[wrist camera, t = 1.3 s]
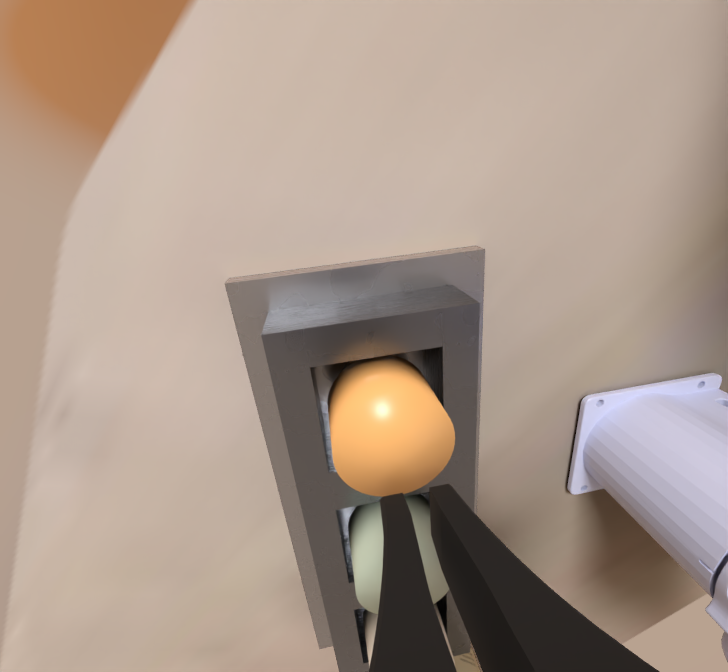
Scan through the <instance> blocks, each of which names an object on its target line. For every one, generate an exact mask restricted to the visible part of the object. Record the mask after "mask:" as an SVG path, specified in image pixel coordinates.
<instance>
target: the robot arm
mask: <svg viewBox="0 0 728 672" xmlns="http://www.w3.org/2000/svg"><path fill="white" fill-rule="evenodd" d="M721 381H722V378H721V376H720V375H718V374H716V373H709V374H703V375H697V376H692V377H686V378H681V379H675V380H670V381H664V382H658V383H653V384H647V385H642V386H636V387H630V388H625V389H619V390H614V391H608V392H603V393H597V394H591V395H588V396H586V397H584V398H583V399H582V402H581V406H580V412H579V419H578V425H577V431H576V437H575V443H574V449H573V455H572V462H571V468H570V474H569V480H568V486H567V489H568V490H569V491H570V493H571V494H581V493H586V492H590V491H595V490H600V489H605V490H606V491H607V492H608V493H609V494H610V495H611V496H612V497H613V498H614V499H615V500H616V501H617V502H618V503H619V504H620V505H621V506H622V507H623V508H624V509H625V510H626V511H627V512H628V513H629V514H630V515H631V516H632V517H633V518H634V519H635V520H636V521H637V522H638V523H639V524H640V525H641V526H642V527H643V528H644V529H645V530H646V531H647V532H648V533H649V534H650V535H651V536H652V537H653V538H654V540H655V541H656V542H657V543H658V544H659V545H660V546H661V547H662V548H663V549H664V550H665V551H666V552H667V553H668V554H669V555H670V556H671V557H672V558H673V559H674V560H675V561H676V562H677V563H678V564H679V565H680V566H681V567H682V568H683V569H684V570H685V571H686V572H687V573H688V574H689V575H690V576H691V577H692V578H693V579H694V580H695V581H696V582H697V583H698V584H699V585H700V586H701V587H702V588H703V589H704V590H705V591H706V592H707V593H708V594H709V595H710V596H711V597H712V598H713V599H712V601H711V602H710V604H709V605H708V606H707V607H706V610H705V611H706V612H707V613H708V614H709V615H710V616H711V617H712V618H713V619H714V620H715V621H716V623H718V625H719V626H720V627H721V628H722V629H723V630H724V631H725V632H724V634H723V636H722V648H723V651H724V655H725V657H726V659H727V662H728V393H726V392H724V391H722V390H720V389H719V387H720V384H721ZM429 496H430V522H431V536H432V539H433V543H434V546H435V550H436V553H437V556H438V559H439V563H440V566H441V569H442V572H443V574H444V577H445V579H446V582H447V584H448V587H449V589H450V592H451V594H452V597H453V599H454V601H455V604H456V606H457V609H458V611H459V613H460V616H461V618H462V621H463V623H464V626H465V628H466V630H467V633H468V635H469V638H470V640H471V643H472V645H473V647H474V650H475V652H476V655H477V657H478V660H479V662H480V665H481V668H482V670H483V672H659V671H658V670H656V669H655V668H653V667H652V666H650V665H649V664H648V663H646V662H645V661H643V660H642V659H641V658H639V657H638V656H637V655H635V654H634V653H632V652H631V651H629V650H628V649H627V648H625V647H624V646H623V645H622V644H620V643H619V642H618V641H616V640H615V639H613V638H612V637H611V636H609V635H608V634H607V633H605V632H604V631H603V630H601V629H600V628H599V627H597V626H596V625H595V624H593V623H592V622H591V621H590V620H588V619H587V618H586V617H585V616H583V615H582V614H581V613H580V612H578V611H577V610H576V609H575V608H573V607H572V606H571V605H570V604H569V603H567V602H566V601H565V600H564V599H563V598H561V597H560V596H559V595H558V594H557V593H555V592H554V591H553V590H552V589H551V588H550V587H549V586H547V585H546V584H545V583H544V582H543V581H542V580H541V579H540V578H538V577H537V576H536V575H535V574H534V573H533V572H532V571H531V570H530V569H529V568H528V567H527V566H526V565H524V564H523V563H522V562H521V561H520V560H519V559H518V558H517V557H516V556H515V555H514V554H513V553H512V552H511V551H510V550H509V549H508V548H507V547H506V546H505V545H504V544H503V543H502V542H501V541H500V540H499V539H498V538H497V537H496V536H495V535H494V534H493V533H492V532H491V530H490V529H489V528H488V527H487V526H486V525H485V524H484V523H483V522H482V521H481V520H480V519H479V517H478V516H477V515H476V514H475V513H474V512H473V511H472V510H471V508H470V507H469V506H468V505H467V504H466V503H465V501H464V500H463V499H462V498H461V497H460V495H459V494H458V493H457V492H456V491H455V489H454V488H453V487H452V486H451V485H450V484H444V485H439V486H434V487H429ZM380 508H381V517H382V525H383V536H384V545H383V569H382V581H381V591H380V602H379V610H378V618H377V625H376V632H375V638H374V645H373V651H372V657H371V662H370V667H369V672H457V671H456V668H455V665H454V662H453V659H452V657H451V654H450V651H449V648H448V645H447V643H446V640H445V637H444V634H443V631H442V628H441V625H440V622H439V619H438V616H437V613H436V610H435V608H434V605H433V601H432V598H431V594H430V591H429V587H428V583H427V579H426V575H425V570H424V566H423V562H422V558H421V553H420V549H419V545H418V540H417V536H416V532H415V528H414V524H413V519H412V515H411V512H410V510H409V507H408V504H407V502H406V500H405V497H404V495H403V493H398V494H393V495H388V496H383V497H382V498H381V499H380Z"/></svg>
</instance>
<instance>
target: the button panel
mask: <svg viewBox="0 0 728 672" xmlns="http://www.w3.org/2000/svg"><path fill="white" fill-rule="evenodd" d="M484 266H485V249H483V248H480V247H478V246H471V247H464V248H456V249H449V250H441V251H433V252H426V253H418V254H411V255H403V256H395V257H388V258H380V259H373V260H365V261H357V262H350V263H342V264H335V265H327V266H319V267H312V268H304V269H296V270H289V271H281V272H274V273H266V274H258V275H251V276H243V277H236V278H229V279H228V280H227V281H226V283H225V287H226V291H227V294H228V298H229V302H230V306H231V310H232V314H233V318H234V321H235V325H236V329H237V333H238V337H239V341H240V345H241V348H242V352H243V356H244V360H245V364H246V368H247V371H248V375H249V379H250V383H251V387H252V391H253V395H254V398H255V402H256V406H257V410H258V414H259V418H260V421H261V425H262V429H263V433H264V437H265V441H266V445H267V448H268V452H269V456H270V460H271V464H272V468H273V472H274V475H275V479H276V483H277V487H278V491H279V495H280V498H281V502H282V506H283V510H284V514H285V518H286V522H287V525H288V529H289V533H290V537H291V541H292V545H293V549H294V552H295V556H296V560H297V564H298V568H299V572H300V575H301V579H302V583H303V587H304V591H305V595H306V599H307V602H308V606H309V610H310V614H311V618H312V622H313V625H314V629H315V633H316V637H317V641H318V645H319V649H322V648H326V647H330V646H333V647H334V651H335V655H336V660H337V664H338V668H339V672H369V661H368V653H367V646H366V638H365V631H364V623H363V612H364V609H365V608H364V607H363V606H362V605H361V604H360V603H359V601H358V599H357V596H356V590H355V582H354V574H353V566H352V558H351V549H350V541H349V533H348V522H349V518H350V516H351V514H352V512H353V511H354V509H355V508H356V507H357V506H359V505H364V504H369V503H375V502H380V499H381V498H382V497H380V496H372V495H367V494H364V493H361V492H359V491H356V490H355V489H353V488H351V487H350V486H349V485H347V484H346V483H345V482H344V481H343V480H342V479H341V478H340V476H339V475H338V473H337V471H336V469H335V466H334V463H333V456H332V446H331V436H330V426H329V416H328V405H327V402H328V395H329V391H330V388H331V386H332V384H333V382H334V380H335V379H336V377H337V376H338V375H339V374H340V373H341V372H342V371H343V370H344V369H345V368H346V367H347V366H349V365H350V364H352V363H353V362H355V361H357V360H361V359H367V358H373V357H380V356H386V355H394V356H398V357H401V358H403V359H406V360H408V361H409V362H411V363H412V364H414V365H415V366H416V367H417V368H418V369H419V370H420V371H421V373H422V374H423V376H424V377H425V379H426V381H427V382H428V384H429V385H430V387H431V389H432V390H433V392H434V393H435V395H436V397H437V398H438V400H439V402H440V403H441V405H442V406H443V408H444V410H445V411H446V413H447V414H448V416H449V418H450V419H451V421H452V424H453V427H454V431H455V445H454V450H453V453H452V455H451V458H450V460H449V461H448V463H447V465H446V466H445V468H444V469H443V470H442V471H441V472H440V473H439V475H437V476H436V477H435V478H434V479H433V480H432V481H430V482H429V483H428V484H426V485H424V486H423V487H421V488H419V489H417V490H414V491H412V492H409V493H406V494H403V495H404V497H405V496H410V495H415V494H421V495H422V496H424V497H425V498H426V499H427V501H428V502H429V503H430V496H429V487H434V486H439V485H444V484H450V485H451V486H452V487H453V488H454V489H455V491H456V492H457V493H458V494H459V495H460V497H461V498H462V499H463V500H464V501H465V503H466V504H467V505H468V506H469V507H470V508H471V510H472V511H473V512H474V513H475V514H476V515H477V487H478V456H479V424H480V392H481V361H482V329H483V297H484ZM436 603H437V607H438V610H439V613H440V616H441V619H442V623H443V626H444V629H445V632H446V635H447V638H448V642H449V645H450V648H451V651H452V654H453V656H457V655H461V654H465V653H470V644H471V640H470V638H469V635H468V633H467V630H466V628H465V626H464V623H463V621H462V618H461V616H460V613H459V611H458V609H457V606H456V604H455V601H454V599H453V597H452V594H451V592H450V589H449V591H448V592H447V593H446V594H445V595H444V596H443V597H442V598H441V599H440V600H439V601H437V602H436Z"/></svg>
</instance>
